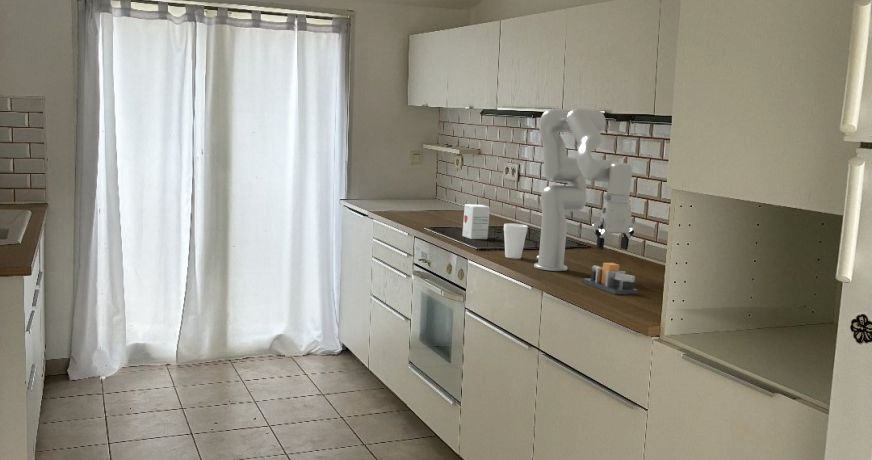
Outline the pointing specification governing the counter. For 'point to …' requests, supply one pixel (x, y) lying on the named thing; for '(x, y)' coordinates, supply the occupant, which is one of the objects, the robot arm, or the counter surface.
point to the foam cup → (514, 239)
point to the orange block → (608, 268)
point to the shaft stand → (612, 281)
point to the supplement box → (476, 221)
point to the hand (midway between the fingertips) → (611, 249)
